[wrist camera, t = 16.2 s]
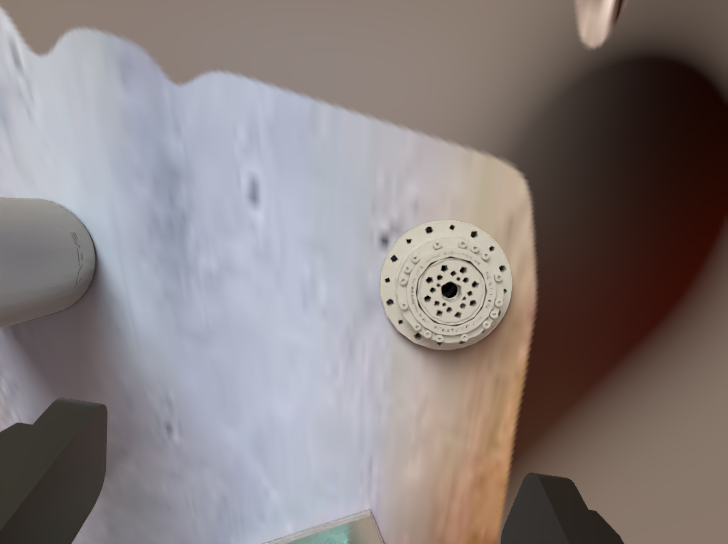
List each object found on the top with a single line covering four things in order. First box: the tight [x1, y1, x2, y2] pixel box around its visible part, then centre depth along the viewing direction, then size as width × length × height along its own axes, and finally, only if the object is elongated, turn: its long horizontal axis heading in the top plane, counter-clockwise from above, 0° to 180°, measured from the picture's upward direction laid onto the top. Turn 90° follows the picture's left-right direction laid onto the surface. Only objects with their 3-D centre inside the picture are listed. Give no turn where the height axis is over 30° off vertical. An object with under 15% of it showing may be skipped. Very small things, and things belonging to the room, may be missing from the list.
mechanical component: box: [380, 220, 512, 350], centre depth 37 cm, size 10×4×10 cm
